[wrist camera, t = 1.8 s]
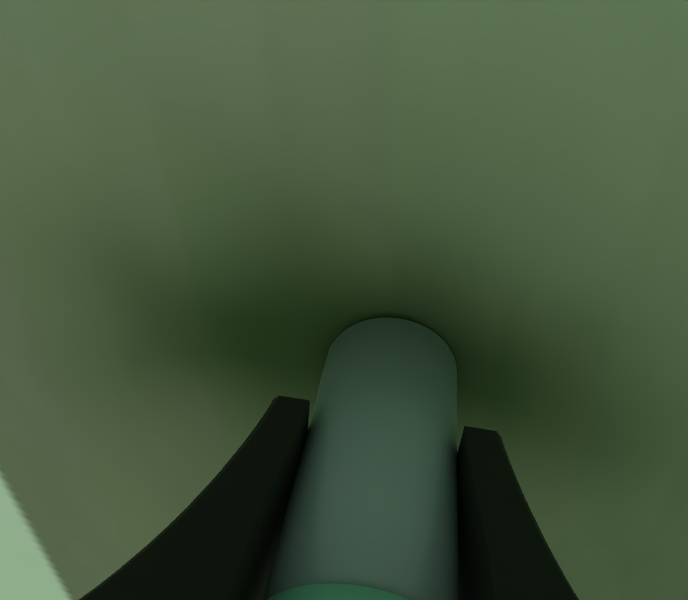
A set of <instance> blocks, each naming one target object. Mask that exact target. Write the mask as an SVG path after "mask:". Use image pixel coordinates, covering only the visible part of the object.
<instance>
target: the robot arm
mask: <svg viewBox="0 0 688 600" xmlns="http://www.w3.org/2000/svg"><path fill="white" fill-rule="evenodd" d="M309 404H310V401H309V400H303V399H296V398H290V397H284V396H278V397H277V398H275V399H274V400H273V401H272V403H271V405H270V406H269V408H268V409H267V411H266V412H265V414H264V415H263V417H262V418H261V420H260V421H259V423H258V424H257V426H256V427H255V428H254V430H253V431H252V432H251V434H250V435H249V436H248V438H247V439H246V440H245V442H244V443H243V444H242V445H241V447H240V448H239V449H238V450H237V452H236V453H235V454H234V455H233V456H232V458H231V459H230V460H229V461H228V463H227V464H226V465H225V466H224V467H223V469H222V470H221V471H220V472H219V473H218V474H217V476H216V477H215V478H214V479H213V480H212V481H211V482H210V483H209V484H208V485H207V487H206V488H205V489H204V490H203V491H202V492H201V493H200V494H199V495H198V496H197V497H196V498H195V499H194V501H193V502H192V503H191V504H190V505H189V506H188V507H187V508H186V509H185V510H184V511H183V512H182V513H181V514H180V515H179V516H178V517H177V518H176V519H175V520H174V521H173V522H172V523H171V524H170V525H169V526H168V527H167V528H165V529H164V530H163V531H162V532H161V533H160V534H159V535H158V536H157V537H156V538H155V539H153V540H152V541H151V542H150V543H149V544H148V545H147V546H146V547H145V548H143V549H142V550H141V551H140V552H139V553H137V554H136V555H135V556H134V557H133V558H132V559H130V560H129V561H128V562H127V563H126V564H124V565H123V566H122V567H121V568H120V569H119V570H117V571H116V572H115V573H114V574H112V575H111V576H110V577H109V578H107V579H106V580H105V581H103V582H102V583H101V584H100V585H98V586H97V587H96V588H94V589H93V590H92V591H90V592H89V593H87V594H86V595H85V596H83V597H82V598H81V599H79V600H263V597H264V593H265V590H266V586H267V582H268V578H269V574H270V571H271V567H272V563H273V559H274V555H275V552H276V548H277V544H278V540H279V536H280V533H281V529H282V525H283V521H284V517H285V514H286V510H287V506H288V502H289V498H290V495H291V491H292V487H293V483H294V479H295V476H296V472H297V468H298V464H299V461H300V457H301V453H302V449H303V445H304V442H305V438H306V434H307V430H308V417H309ZM457 468H458V600H579V599H578V598H577V596H576V594H575V593H574V591H573V589H572V588H571V586H570V584H569V582H568V581H567V579H566V577H565V576H564V574H563V572H562V570H561V568H560V567H559V565H558V563H557V561H556V559H555V558H554V556H553V554H552V552H551V550H550V548H549V546H548V544H547V543H546V541H545V539H544V537H543V535H542V533H541V531H540V529H539V527H538V524H537V522H536V520H535V518H534V516H533V514H532V512H531V510H530V508H529V506H528V504H527V502H526V499H525V497H524V495H523V493H522V490H521V488H520V486H519V483H518V481H517V479H516V476H515V474H514V471H513V469H512V466H511V464H510V461H509V459H508V456H507V453H506V451H505V448H504V445H503V442H502V439H501V436H500V435H499V434H498V433H497V431H492V430H485V429H479V428H473V427H467V426H465V427H464V431H463V434H462V438H461V442H460V446H459V449H458V453H457Z"/></svg>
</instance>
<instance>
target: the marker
mask: <svg viewBox="0 0 688 600" xmlns="http://www.w3.org/2000/svg"><path fill="white" fill-rule="evenodd" d="M263 600H458V468H457V366H456V361H455V358H454V356H453V354H452V352H451V350H450V348H449V347H448V345H447V344H446V343H445V342H444V341H443V340H442V339H441V338H440V337H439V336H438V335H437V334H436V333H434V332H433V331H431V330H430V329H428V328H426V327H425V326H422V325H420V324H418V323H415V322H412V321H409V320H405V319H400V318H391V317H389V318H373V319H369V320H365V321H362V322H359V323H356V324H354V325H352V326H350V327H349V328H347V329H346V330H344V331H343V332H342V333H341V334H340V335H339V336H338V337H337V338H336V339H335V340H334V342H333V343H332V345H331V347H330V349H329V351H328V354H327V358H326V362H325V365H324V369H323V373H322V377H321V381H320V384H319V388H318V392H317V396H316V400H315V403H314V407H313V411H312V415H311V419H310V422H309V426H308V430H307V434H306V438H305V442H304V445H303V449H302V453H301V457H300V461H299V464H298V468H297V472H296V476H295V479H294V483H293V487H292V491H291V495H290V498H289V502H288V506H287V510H286V514H285V517H284V521H283V525H282V529H281V533H280V536H279V540H278V544H277V548H276V552H275V555H274V559H273V563H272V567H271V571H270V574H269V578H268V582H267V586H266V590H265V593H264V597H263Z"/></svg>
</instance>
